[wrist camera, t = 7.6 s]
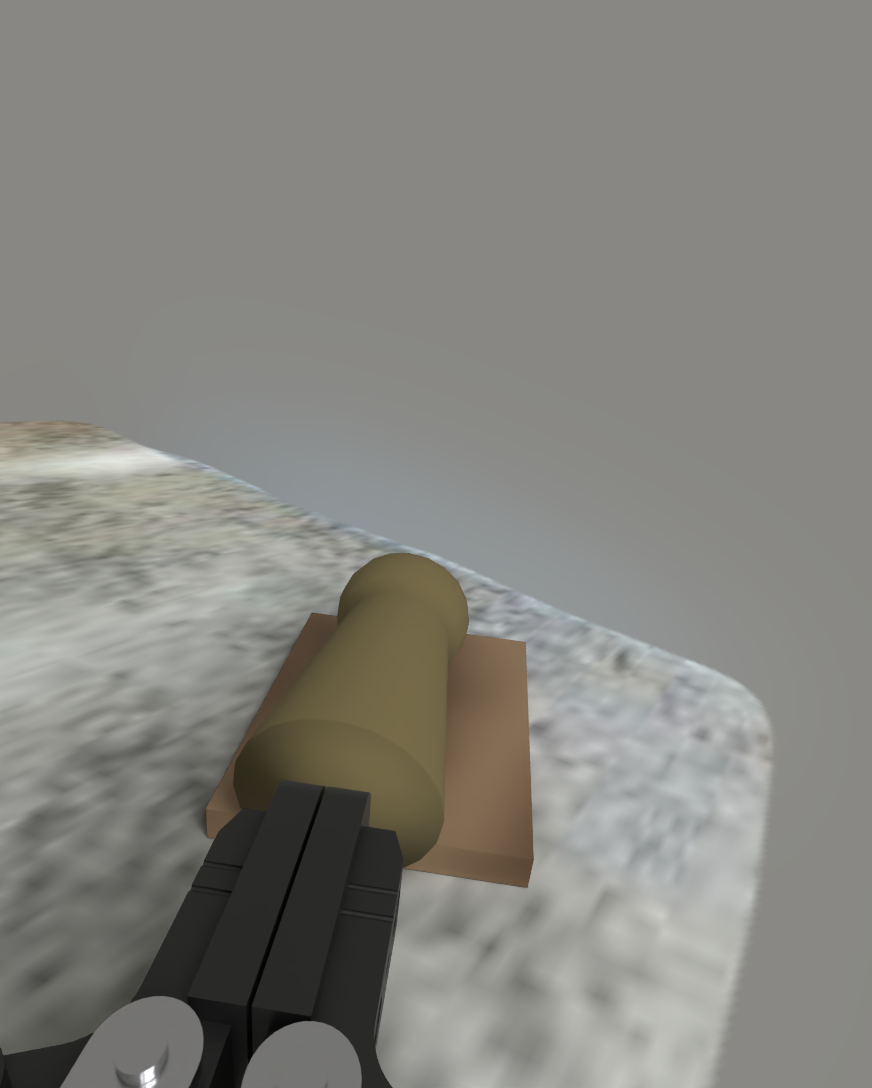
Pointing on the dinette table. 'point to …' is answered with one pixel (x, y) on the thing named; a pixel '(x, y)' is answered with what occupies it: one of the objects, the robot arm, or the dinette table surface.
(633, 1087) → the dinette table surface
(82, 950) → the dinette table surface
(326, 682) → the cork
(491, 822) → the walnut board
